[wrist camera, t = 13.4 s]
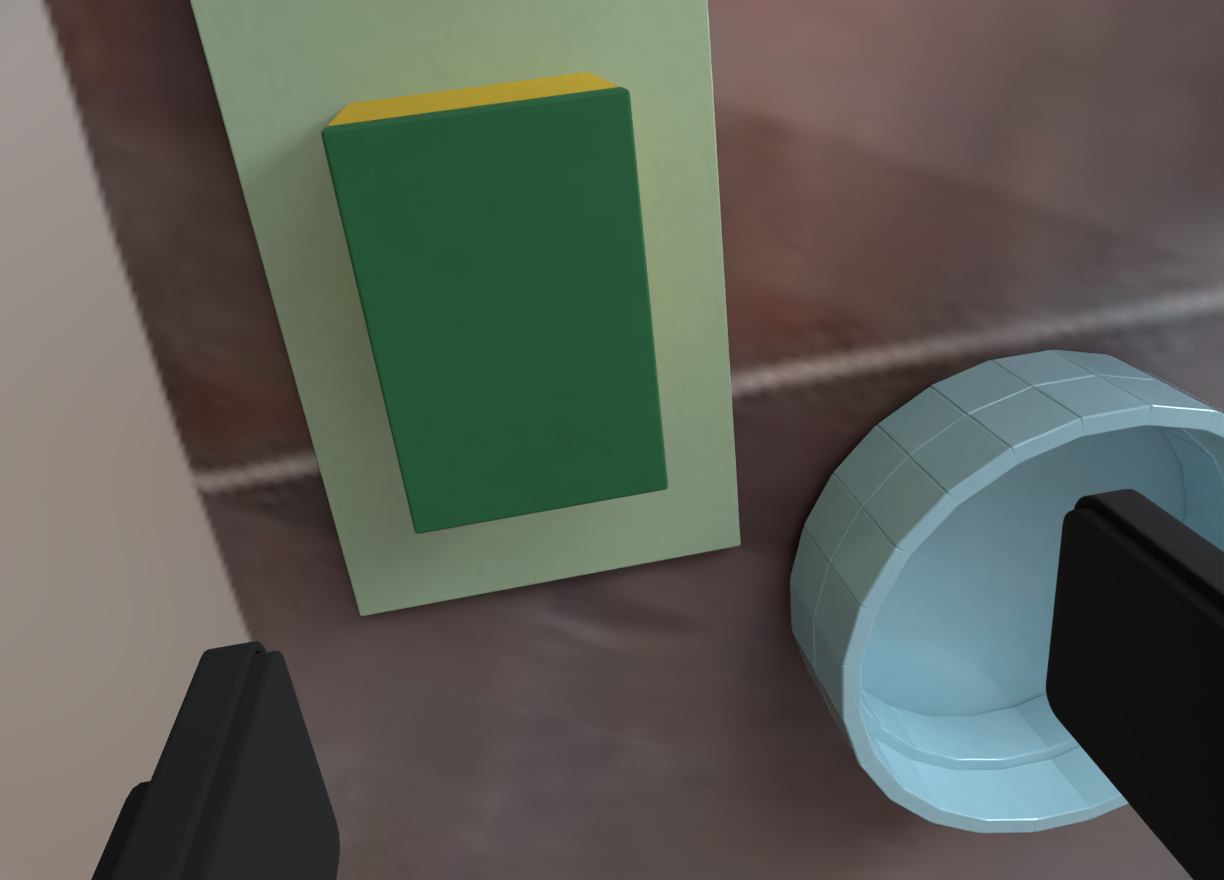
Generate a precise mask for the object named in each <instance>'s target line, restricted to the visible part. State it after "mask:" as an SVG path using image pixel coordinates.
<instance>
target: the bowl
mask: <svg viewBox="0 0 1224 880" xmlns="http://www.w3.org/2000/svg"><path fill="white" fill-rule="evenodd" d="M1122 489H1133V490H1135V491H1137V492H1139V493H1141V494H1142V495H1144V496H1145V497H1146V498H1148V499H1149V500H1151V501H1152V502H1154V503H1155V504H1156V505H1158V506H1159V507H1161V508H1162V509H1163V510H1165V511H1166V512H1168V513H1169V514H1171V515H1172V516H1173V517H1175V518H1176V519H1178V520H1179V521H1181V522H1182V523H1183V524H1185V525H1186V526H1188V527H1189V528H1190V529H1192V530H1193V531H1195V532H1196V533H1198V534H1199V535H1200V536H1202V537H1203V538H1205V539H1206V540H1208V541H1209V542H1210V543H1212V544H1213V545H1215V546H1216V547H1217V548H1219V549H1220V550H1222V551H1223V552H1224V410H1222V409H1220V408H1218V407H1216V406H1214V405H1212V404H1210V403H1208V402H1206V401H1204V400H1202V399H1200V398H1198V397H1196V396H1194V395H1192V394H1191V393H1189V392H1187V391H1185V390H1183V389H1181V388H1179V387H1177V386H1175V385H1173V384H1171V383H1169V382H1167V381H1165V380H1163V379H1161V378H1160V377H1158V376H1156V375H1154V374H1151V373H1149V372H1147V371H1145V370H1142V369H1140V368H1138V367H1135V366H1133V365H1131V364H1129V363H1126V362H1124V361H1122V360H1120V359H1117V358H1115V357H1113V356H1109V355H1105V354H1095V353H1085V352H1075V351H1065V350H1047V351H1041V352H1035V353H1029V354H1023V355H1017V356H1012V357H1006V358H1000V359H994V360H992V361H991V360H988V361H986V362H984V363H981V364H979V365H977V366H974V367H972V368H970V369H967V370H965V371H963V372H960V373H958V374H956V375H953V376H951V377H949V378H946V379H944V380H942V381H940V382H937V383H935V384H933V385H931V387H928V388H927V389H925V390H924V391H923V392H921V393H920V394H918V395H917V396H916V397H914V398H913V399H911V400H910V401H909V402H907V403H906V404H904V405H903V406H902V407H900V408H899V409H898V410H896V411H895V412H893V413H892V414H891V415H889V416H888V417H886V418H885V419H884V420H882V421H881V422H879V423H878V426H874V427H873V429H872V430H871V431H870V432H869V433H868V434H867V435H866V436H865V437H864V439H863V440H862V441H861V442H860V443H859V444H858V445H857V446H856V447H855V449H854V450H853V451H852V452H851V453H850V454H849V455H848V456H847V457H846V459H845V460H844V461H843V462H842V463H841V464H840V465H839V466H838V468H837V469H836V470H835V471H834V474H832V475H831V477H830V478H829V480H828V482H827V484H826V486H825V487H824V489H823V491H822V493H821V495H820V496H819V498H818V500H817V502H816V504H815V506H814V507H813V509H812V511H811V513H810V515H809V516H808V518H807V520H806V522H805V524H804V526H805V527H803V530H802V534H801V538H800V542H799V546H798V549H797V553H796V557H795V561H794V565H793V569H792V573H791V576H790V578H791V580H790V598H791V626H792V632H793V634H794V637H795V640H796V642H797V645H798V648H799V650H800V653H801V656H802V658H803V661H804V664H805V666H806V669H807V671H808V673H809V675H810V676H811V678H812V680H813V682H814V684H815V686H816V687H817V689H818V691H819V693H820V695H821V696H822V698H823V700H824V702H825V704H826V706H827V707H828V709H829V711H830V713H831V715H832V716H833V718H834V720H835V722H836V724H837V725H838V727H839V729H840V731H841V733H842V734H843V736H844V738H845V740H846V742H847V744H848V745H849V747H850V749H851V751H852V753H853V754H854V756H855V758H856V760H857V762H858V763H859V765H860V766H861V767H862V769H863V770H864V771H865V772H866V773H867V774H868V776H869V777H870V778H871V779H872V780H873V781H874V782H875V784H876V785H877V786H878V787H879V788H880V789H881V790H882V792H883V793H884V794H885V795H886V796H887V797H888V798H889V799H890V800H892V801H893V802H895V803H897V804H899V805H900V806H902V807H904V808H906V809H908V810H909V811H911V812H913V813H915V814H917V815H918V816H920V817H922V818H924V819H925V820H927V821H929V822H931V823H935V824H939V825H944V826H948V827H953V828H957V829H962V830H966V831H971V832H975V833H1025V832H1038V831H1043V830H1047V829H1051V828H1056V827H1060V826H1065V825H1069V824H1074V823H1078V822H1083V821H1087V820H1089V819H1093V818H1095V817H1098V816H1100V815H1103V814H1105V813H1107V812H1110V811H1112V810H1114V809H1117V808H1119V807H1122V806H1124V805H1126V804H1129V803H1128V802H1127V801H1126V799H1125V798H1124V797H1123V796H1122V795H1121V793H1120V792H1119V791H1118V790H1117V789H1116V788H1115V786H1114V785H1113V784H1112V783H1111V782H1110V780H1109V779H1108V778H1107V777H1106V776H1105V775H1104V773H1103V772H1102V771H1101V770H1100V769H1099V767H1098V766H1097V765H1096V764H1095V763H1094V762H1093V760H1092V759H1091V758H1090V757H1089V756H1088V754H1087V753H1086V752H1085V751H1084V750H1083V749H1082V747H1081V746H1080V745H1079V744H1078V743H1077V741H1076V740H1075V739H1074V738H1073V737H1072V736H1071V734H1070V733H1069V732H1068V731H1067V730H1066V728H1065V727H1064V726H1063V725H1062V724H1061V723H1060V721H1059V720H1058V719H1057V718H1056V716H1055V715H1054V713H1053V712H1052V710H1051V708H1050V705H1049V702H1048V699H1047V695H1046V677H1047V667H1048V658H1049V648H1050V639H1051V629H1052V620H1053V610H1054V601H1055V591H1056V582H1057V572H1058V563H1059V553H1060V544H1061V534H1062V525H1063V520H1064V517H1065V515H1066V513H1068V512H1069V511H1071V510H1074V507H1075V504H1076V503H1077V501H1078V499H1080V498H1082V497H1083V496H1088V495H1093V494H1099V493H1105V492H1110V491H1116V490H1122Z"/></svg>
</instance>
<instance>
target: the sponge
mask: <svg viewBox="0 0 1224 880" xmlns="http://www.w3.org/2000/svg"><path fill="white" fill-rule="evenodd" d="M321 136H322V140H323V145H324V149H325V153H326V157H327V162H328V166H329V170H330V174H331V179H332V183H333V187H334V191H335V196H336V200H337V204H338V208H339V213H340V217H341V221H342V225H343V230H344V234H345V238H346V242H347V247H348V251H349V255H350V259H351V264H352V268H353V272H354V276H355V281H356V285H357V289H358V293H359V298H360V302H361V306H362V310H363V315H364V319H365V323H366V327H367V332H368V336H369V340H370V344H371V349H372V353H373V357H374V361H375V366H376V370H377V374H378V378H379V382H380V387H381V391H382V395H383V399H384V404H385V408H386V412H387V416H388V421H389V425H390V429H391V433H392V438H393V442H394V446H395V450H396V455H397V459H398V463H399V467H400V472H401V476H402V480H403V484H404V489H405V493H406V497H407V501H408V506H409V510H410V514H411V518H412V523H413V527H414V531H415V532H416V534H421V533H426V532H432V531H437V530H443V529H449V528H454V527H460V526H465V525H471V524H477V523H482V522H488V521H493V520H499V519H504V518H510V517H516V516H521V515H527V514H532V513H538V512H544V511H549V510H555V509H560V508H566V507H571V506H577V505H583V504H588V503H594V502H599V501H605V500H611V499H616V498H622V497H627V496H633V495H638V494H644V493H650V492H655V491H661V490H666V489H667V488H668V479H667V469H666V459H665V448H664V438H663V428H662V418H661V407H660V397H659V387H658V377H657V366H656V356H655V346H654V335H653V325H652V315H651V305H650V294H649V284H648V274H647V263H646V253H645V243H644V233H643V222H642V212H641V202H640V191H639V181H638V171H637V161H636V150H635V140H634V130H633V120H632V109H631V99H630V92H629V90H628V89H626V88H623V87H621V86H619V85H616V84H614V83H612V82H610V81H607V80H605V79H603V78H601V77H598V76H596V75H594V74H592V73H589V72H583V73H575V74H568V75H560V76H553V77H545V78H537V79H530V80H522V81H515V82H507V83H500V84H492V85H485V86H477V87H470V88H462V89H455V90H447V91H439V92H432V93H424V94H417V95H409V96H402V97H394V98H387V99H379V100H372V101H364V102H357V103H349V104H348V105H346V106H345V107H344V109H343V110H342V111H341V112H340V113H339V114H338V115H337V116H336V117H335V118H334V119H333V120H332V121H331V122H330V123H329V124H328V125H327V126H326V128H324V129H323V130H322V132H321Z"/></svg>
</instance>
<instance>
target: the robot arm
mask: <svg viewBox="0 0 1224 880" xmlns="http://www.w3.org/2000/svg"><path fill="white" fill-rule="evenodd" d="M1046 695H1047V699H1048V702H1049V705H1050V708H1051V710H1052V712H1053V713H1054V715H1055V716H1056V718H1057V719H1058V720H1059V721H1060V723H1061V724H1062V725H1063V726H1064V727H1065V728H1066V730H1067V731H1068V732H1069V733H1070V734H1071V736H1072V737H1073V738H1074V739H1075V740H1076V741H1077V743H1078V744H1079V745H1080V746H1081V747H1082V749H1083V750H1084V751H1085V752H1086V753H1087V754H1088V756H1089V757H1090V758H1091V759H1092V760H1093V762H1094V763H1095V764H1096V765H1097V766H1098V767H1099V769H1100V770H1101V771H1102V772H1103V773H1104V775H1105V776H1106V777H1107V778H1108V779H1109V780H1110V782H1111V783H1112V784H1113V785H1114V786H1115V788H1116V789H1117V790H1118V791H1119V792H1120V793H1121V795H1122V796H1123V797H1124V798H1125V799H1126V801H1127V802H1128V803H1129V804H1130V805H1131V806H1132V808H1133V809H1134V810H1135V811H1136V812H1137V814H1138V815H1139V816H1140V817H1141V818H1142V819H1143V821H1144V822H1145V823H1146V824H1147V825H1148V827H1149V828H1150V829H1151V830H1152V831H1153V832H1154V834H1155V835H1156V836H1157V837H1158V838H1159V839H1160V841H1161V842H1162V843H1163V844H1164V845H1165V847H1166V848H1167V849H1168V850H1169V851H1170V852H1171V854H1172V855H1173V856H1174V857H1175V858H1176V860H1177V861H1178V862H1179V863H1180V864H1181V865H1182V867H1183V868H1184V869H1185V870H1186V871H1187V873H1188V874H1189V875H1190V876H1191V877H1192V878H1193V880H1224V552H1223V551H1222V550H1220V549H1219V548H1217V547H1216V546H1215V545H1213V544H1212V543H1210V542H1209V541H1208V540H1206V539H1205V538H1203V537H1202V536H1200V535H1199V534H1198V533H1196V532H1195V531H1193V530H1192V529H1190V528H1189V527H1188V526H1186V525H1185V524H1183V523H1182V522H1181V521H1179V520H1178V519H1176V518H1175V517H1173V516H1172V515H1171V514H1169V513H1168V512H1166V511H1165V510H1163V509H1162V508H1161V507H1159V506H1158V505H1156V504H1155V503H1154V502H1152V501H1151V500H1149V499H1148V498H1146V497H1145V496H1144V495H1142V494H1141V493H1139V492H1137V491H1135V490H1133V489H1122V490H1116V491H1110V492H1105V493H1099V494H1093V495H1088V496H1083V497H1082V498H1080V499H1078V501H1077V503H1076V504H1075V507H1074V510H1071V511H1069V512H1068V513H1066V515H1065V517H1064V520H1063V525H1062V534H1061V544H1060V553H1059V563H1058V572H1057V582H1056V591H1055V601H1054V610H1053V620H1052V629H1051V639H1050V648H1049V658H1048V667H1047V677H1046ZM339 853H340V842H339V832H338V826H337V822H336V819H335V816H334V812H333V809H332V806H331V803H330V800H329V797H328V794H327V791H326V787H325V784H324V781H323V778H322V775H321V772H320V769H319V766H318V762H317V759H316V756H315V753H314V750H313V747H312V744H311V741H310V737H309V734H308V731H307V728H306V725H305V722H304V719H303V716H302V712H301V709H300V706H299V703H298V700H297V697H296V694H295V691H294V687H293V684H292V681H291V678H290V675H289V672H288V669H287V666H286V662H285V660H284V657H283V655H282V654H281V652H280V651H278V650H277V651H271V652H266V650H265V648H264V646H263V645H262V644H261V643H260V642H258V641H254V642H248V643H243V644H237V645H231V646H225V647H220V648H214V649H209V650H207V651H205V652H204V654H203V655H202V657H201V659H200V661H199V664H198V667H197V669H196V671H195V673H194V676H193V678H192V681H191V683H190V686H189V688H188V691H187V693H186V696H185V698H184V701H183V703H182V705H181V708H180V710H179V713H178V715H177V718H176V720H175V722H174V725H173V727H172V730H171V732H170V735H169V737H168V740H167V742H166V745H165V747H164V749H163V752H162V755H161V757H160V759H159V762H158V764H157V767H156V769H155V772H154V774H153V776H152V779H151V781H148V782H142V783H140V784H138V785H137V786H136V787H134V788H133V789H132V791H131V792H130V794H129V795H128V797H127V799H126V801H125V803H124V805H123V807H122V810H121V812H120V814H119V817H118V819H117V821H116V824H115V826H114V828H113V831H112V833H111V835H110V838H109V840H108V842H107V845H106V847H105V849H104V852H103V854H102V856H101V859H100V861H99V863H98V866H97V868H96V870H95V872H94V875H93V877H92V879H91V880H336V876H337V869H338V862H339Z"/></svg>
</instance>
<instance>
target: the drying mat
mask: <svg viewBox="0 0 1224 880" xmlns="http://www.w3.org/2000/svg"><path fill="white" fill-rule="evenodd" d="M190 2H191V6H192V9H193V13H194V17H195V20H196V24H197V27H198V31H199V35H200V38H201V42H202V45H203V49H204V53H205V56H206V60H207V64H208V67H209V71H210V74H211V78H212V82H213V85H214V89H215V92H216V96H217V100H218V103H219V107H220V110H221V114H222V118H223V121H224V125H225V129H226V132H227V136H228V139H229V143H230V147H231V150H232V154H233V157H234V161H235V165H236V168H237V172H238V176H239V179H240V183H241V186H242V190H243V194H244V197H245V201H246V204H247V208H248V212H249V215H250V219H251V222H252V226H253V230H254V233H255V237H256V241H257V244H258V248H259V251H260V255H261V259H262V262H263V266H264V269H265V273H266V277H267V280H268V284H269V287H270V291H271V295H272V298H273V302H274V306H275V309H276V313H277V316H278V320H279V324H280V327H281V331H282V334H283V338H284V342H285V345H286V349H287V353H288V356H289V360H290V363H291V367H292V371H293V374H294V378H295V381H296V385H297V389H298V392H299V396H300V399H301V403H302V407H303V410H304V414H305V418H306V421H307V425H308V428H309V432H310V436H311V439H312V443H313V446H314V450H315V454H316V457H317V461H318V465H319V468H320V472H321V475H322V479H323V483H324V486H325V490H326V493H327V497H328V501H329V504H330V508H331V511H332V515H333V519H334V522H335V526H336V530H337V533H338V537H339V540H340V544H341V548H342V551H343V555H344V558H345V562H346V566H347V569H348V573H349V576H350V580H351V584H352V587H353V591H354V595H355V598H356V602H357V605H358V609H359V613H360V615H361V616H366V615H371V614H376V613H382V612H387V611H393V610H398V609H403V608H409V607H414V606H419V605H425V604H430V603H435V602H441V601H446V600H451V599H457V598H462V597H468V596H473V595H478V594H484V593H489V592H494V591H500V590H505V589H510V588H516V587H521V586H527V585H532V584H537V583H543V582H548V581H553V580H559V579H564V578H569V577H575V576H580V575H586V574H591V573H596V572H602V571H607V570H612V569H618V568H623V567H628V566H634V565H639V564H644V563H650V562H655V561H661V560H666V559H671V558H677V557H682V556H687V555H693V554H698V553H703V552H709V551H714V550H720V549H725V548H730V547H736V546H740V544H741V542H740V525H739V509H738V493H737V476H736V460H735V443H734V427H733V411H732V394H731V378H730V361H729V345H728V329H727V312H726V296H725V279H724V263H723V247H722V230H721V214H720V198H719V181H718V165H717V148H716V132H715V116H714V99H713V83H712V66H711V50H710V34H709V17H708V1H707V0H190ZM583 72H589V73H592V74H594V75H596V76H598V77H601V78H603V79H605V80H607V81H610V82H612V83H614V84H616V85H619V86H621V87H623V88H626V89H628V90H629V92H630V99H631V109H632V120H633V130H634V140H635V150H636V161H637V171H638V181H639V191H640V202H641V212H642V222H643V233H644V243H645V253H646V263H647V274H648V284H649V294H650V305H651V315H652V325H653V335H654V346H655V356H656V366H657V377H658V387H659V397H660V407H661V418H662V428H663V438H664V448H665V459H666V469H667V479H668V488H667V489H666V490H661V491H655V492H650V493H644V494H638V495H633V496H627V497H622V498H616V499H611V500H605V501H599V502H594V503H588V504H583V505H577V506H571V507H566V508H560V509H555V510H549V511H544V512H538V513H532V514H527V515H521V516H516V517H510V518H504V519H499V520H493V521H488V522H482V523H477V524H471V525H465V526H460V527H454V528H449V529H443V530H437V531H432V532H426V533H421V534H416V532H415V531H414V527H413V523H412V518H411V514H410V510H409V506H408V501H407V497H406V493H405V489H404V484H403V480H402V476H401V472H400V467H399V463H398V459H397V455H396V450H395V446H394V442H393V438H392V433H391V429H390V425H389V421H388V416H387V412H386V408H385V404H384V399H383V395H382V391H381V387H380V382H379V378H378V374H377V370H376V366H375V361H374V357H373V353H372V349H371V344H370V340H369V336H368V332H367V327H366V323H365V319H364V315H363V310H362V306H361V302H360V298H359V293H358V289H357V285H356V281H355V276H354V272H353V268H352V264H351V259H350V255H349V251H348V247H347V242H346V238H345V234H344V230H343V225H342V221H341V217H340V213H339V208H338V204H337V200H336V196H335V191H334V187H333V183H332V179H331V174H330V170H329V166H328V162H327V157H326V153H325V149H324V145H323V140H322V136H321V132H322V130H323V129H324V128H326V126H327V125H328V124H329V123H330V122H331V121H332V120H333V119H334V118H335V117H336V116H337V115H338V114H339V113H340V112H341V111H342V110H343V109H344V107H345V106H346V105H348V104H349V103H357V102H364V101H372V100H379V99H387V98H394V97H402V96H409V95H417V94H424V93H432V92H439V91H447V90H455V89H462V88H470V87H477V86H485V85H492V84H500V83H507V82H515V81H522V80H530V79H537V78H545V77H553V76H560V75H568V74H575V73H583Z"/></svg>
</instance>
